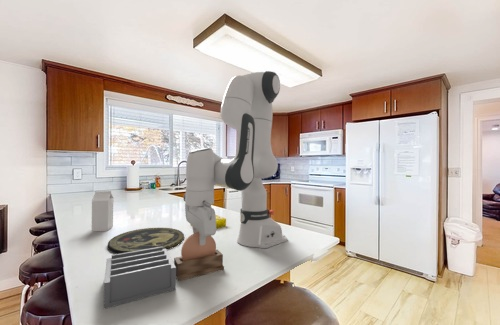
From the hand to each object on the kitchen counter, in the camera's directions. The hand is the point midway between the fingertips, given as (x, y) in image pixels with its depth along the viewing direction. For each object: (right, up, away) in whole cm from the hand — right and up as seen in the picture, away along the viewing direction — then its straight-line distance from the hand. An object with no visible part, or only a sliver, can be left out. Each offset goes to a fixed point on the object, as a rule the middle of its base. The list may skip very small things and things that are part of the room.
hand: (199, 241), depth 72 cm
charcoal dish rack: (-15, -9, -9) cm, 19 cm away
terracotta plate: (0, -3, 0) cm, 3 cm away
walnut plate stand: (0, -9, 0) cm, 9 cm away
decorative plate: (-28, -9, +25) cm, 39 cm away
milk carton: (-58, -8, +40) cm, 71 cm away
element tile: (-6, -9, +50) cm, 51 cm away
